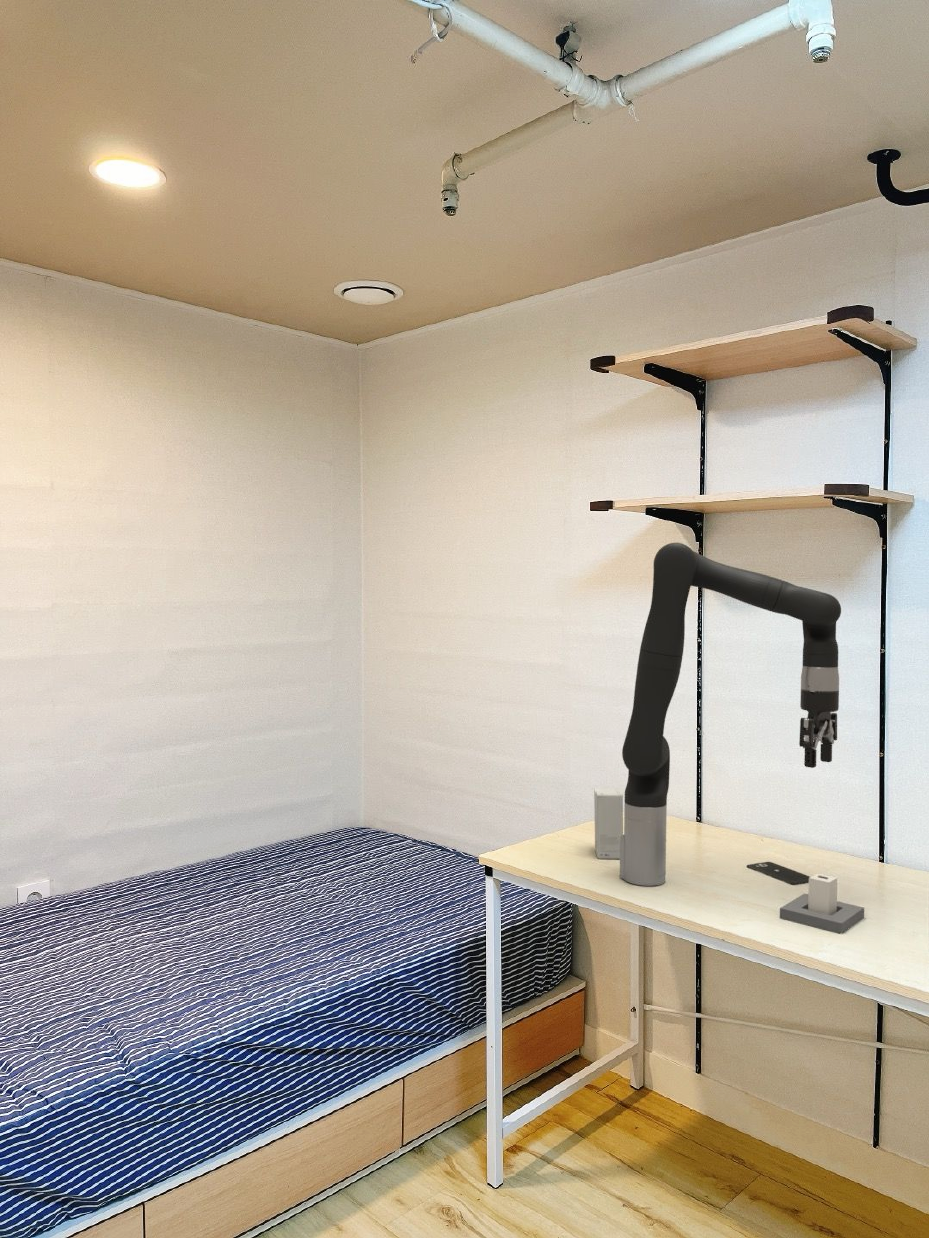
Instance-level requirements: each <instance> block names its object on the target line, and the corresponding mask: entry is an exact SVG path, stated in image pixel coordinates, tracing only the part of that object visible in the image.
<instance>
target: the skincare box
mask: <svg viewBox="0 0 929 1238" xmlns="http://www.w3.org/2000/svg"><path fill="white" fill-rule="evenodd" d="M593 792H594V797H593V798H594V805H593V806H594V807H593V808H594V851H595V854H596V858H597V859H600V860H601V859H602V860H620V837H621V835H624V795H623V793H622V792H621V790H620V788H594V791H593Z"/></svg>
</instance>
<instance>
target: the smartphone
mask: <svg viewBox="0 0 929 1238" xmlns="http://www.w3.org/2000/svg"><path fill="white" fill-rule="evenodd" d="M746 868H747V869H749V870H752V871H754V872H756V873H760V874H762V875H765V876H768V877H769V878H773V879H775V880H778V881H781V882H783V883H785V884H788V885H791V886H798V885H803V884H809V878H810V877H811V876H810V875H806V874H804V873H802V872H799V871H796V870H794V869H791V868H788V867H786V866H783V865H781V864H777V863H775V862H772V861H763V862H757V863H751V864H746Z"/></svg>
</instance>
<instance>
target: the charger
mask: <svg viewBox="0 0 929 1238" xmlns="http://www.w3.org/2000/svg"><path fill="white" fill-rule="evenodd" d="M808 895H809V896H808V910H812V911H816V912H820V913H824V914H828V915H833V914H835V913H836V912H837V901H838V877H834V876H831V875H826V874H822V873H816V874H813V875H812V876H810V878H809V883H808Z"/></svg>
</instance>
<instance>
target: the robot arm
mask: <svg viewBox="0 0 929 1238" xmlns="http://www.w3.org/2000/svg"><path fill="white" fill-rule="evenodd" d="M652 580H653V581H652V595H651V603H650V608H649V612H648V615H647V620H646V623H645V627H644V629H643V630H644V631H643V634H642V639H641V643H640V648H639V654H638V660H637V667H636V675H635V682H634V683H635V686H634V692H633V693H634V695H633V703H632V704H633V705H632V712H631V716H630V720H629V723H628V728H627V731H626V735H625V739H624V742H623V745H622V750H621V757H622V760H623V763H624V766H625V767H626V768H627V770H628V773H627V774H628V777H627V783H626V786H625V790H624V804H623V835H621V837H620V859H619V879H623V880H624V881H625V882H627V883H629V884H632V885H636V886H637V885H638V886H644V887H645V886H649V887H653V886H659V885H662V884H664V883H666V874H667V873H666V872H667V869H666V867H667V862H666V861H667V816H668V815H667V814H668V813H667V808H668V806H667V803H668V793H669V789H670V769H671V767H670V766H671V764H670V763H671V749H670V745H669V742H668V741H667V739H666V738H665V736H664V730H665V724H666V723H665V722H666V718H667V713H668V710H669V707H670V704H671V702H672V700H673V696H674V695H675V690H676V688H677V686H678V683H679V682H678V681H679V678H680V677H679V676H680V673H681V668H682V662H683V655H684V647H685V628H686V626H685V625H686V624H685V617H686V609H687V608H686V607H687V603H688V600H689V599H688V598H689V595H690V590H691V588H692V587H696V588H701V589H706V590H708V591H713V592H715V593H719V594H722V595H725V596H727V597H729V598H731V599H734V600H736V601H740V602H742V603H744V604H747V605H750V606H753V607H756V608H759V609H762V610H765V611H769V612H772V613H775V614H779V615H780V614H781V615H786V616H789V617H792V618H794V619H797V620H799V621H801V622H802V623H801V624H802V634H803V635H802V636H803V643H802V644H803V647H802V668H801V674H800V709H801V710H802V711H807V717H800V720H799V721H800V722H799V743H798V744H799V747H802V749H804V763H803V764H804V766H805V767H806V768H811V769H813V768H816V767H817V751H818V750H817V747H818V744H819V742H820V761H821V762H823V763H831V762H832V761H833V745H834V744H835V741H837V740H838V713H837V711H839V707H840V705H839V703H840V675H839V674H840V673H839V644H838V642H837V621H838V620H839V618H840V617H841V614H842V607H841V603H840V602H839V600H838V599H837V598H836V597H835V596H834V595H831V594H829V593H827V592H823V591H820V590H819V591H818V590H815V589H811V588H807V587H802V586H798V585H795V584H793V583H791V582H788V581H785V580H782V579H779V578H777V577H773V576H771V575H767V574H763V573H759V572H755V571H752V570H747V569H742V568H738V567H734V566H730V565H727V564H725V563H721V562H719V561H715V560H713V559H710V558H708V557H706V556H705V555H702V554H700V553H698V552H696V551H694V550H693V549H692V548H691V547H690V546H688V545H686V544H684V543H681V542H670V543H667V544H665V545H663V546H662V547H660V548H659V549H658V551H657V552H656V553H655V556H654V559H653V579H652Z"/></svg>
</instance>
